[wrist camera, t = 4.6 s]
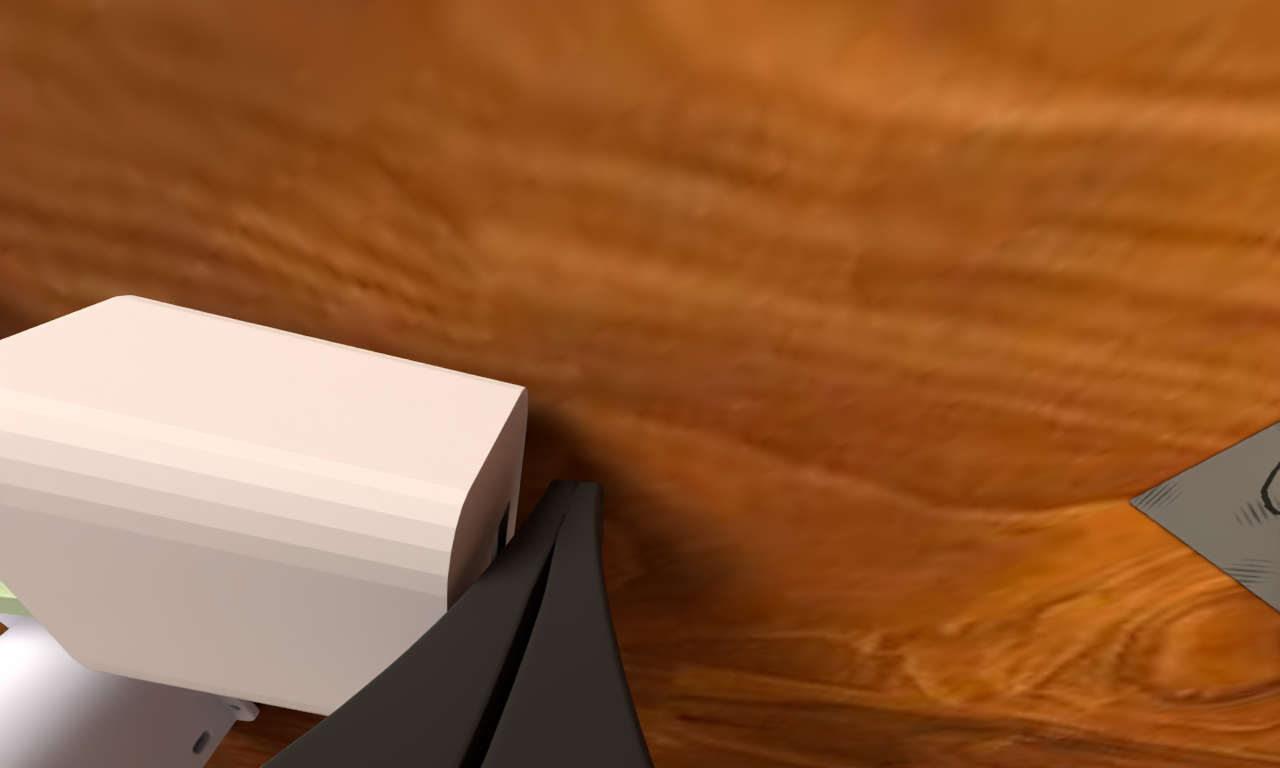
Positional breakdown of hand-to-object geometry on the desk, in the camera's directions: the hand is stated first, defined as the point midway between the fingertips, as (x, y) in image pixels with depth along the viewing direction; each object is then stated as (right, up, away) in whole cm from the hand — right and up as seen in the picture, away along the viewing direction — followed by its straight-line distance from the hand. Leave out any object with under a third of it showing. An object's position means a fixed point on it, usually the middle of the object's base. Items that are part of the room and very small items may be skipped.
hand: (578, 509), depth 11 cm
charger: (-9, +2, +2) cm, 10 cm away
